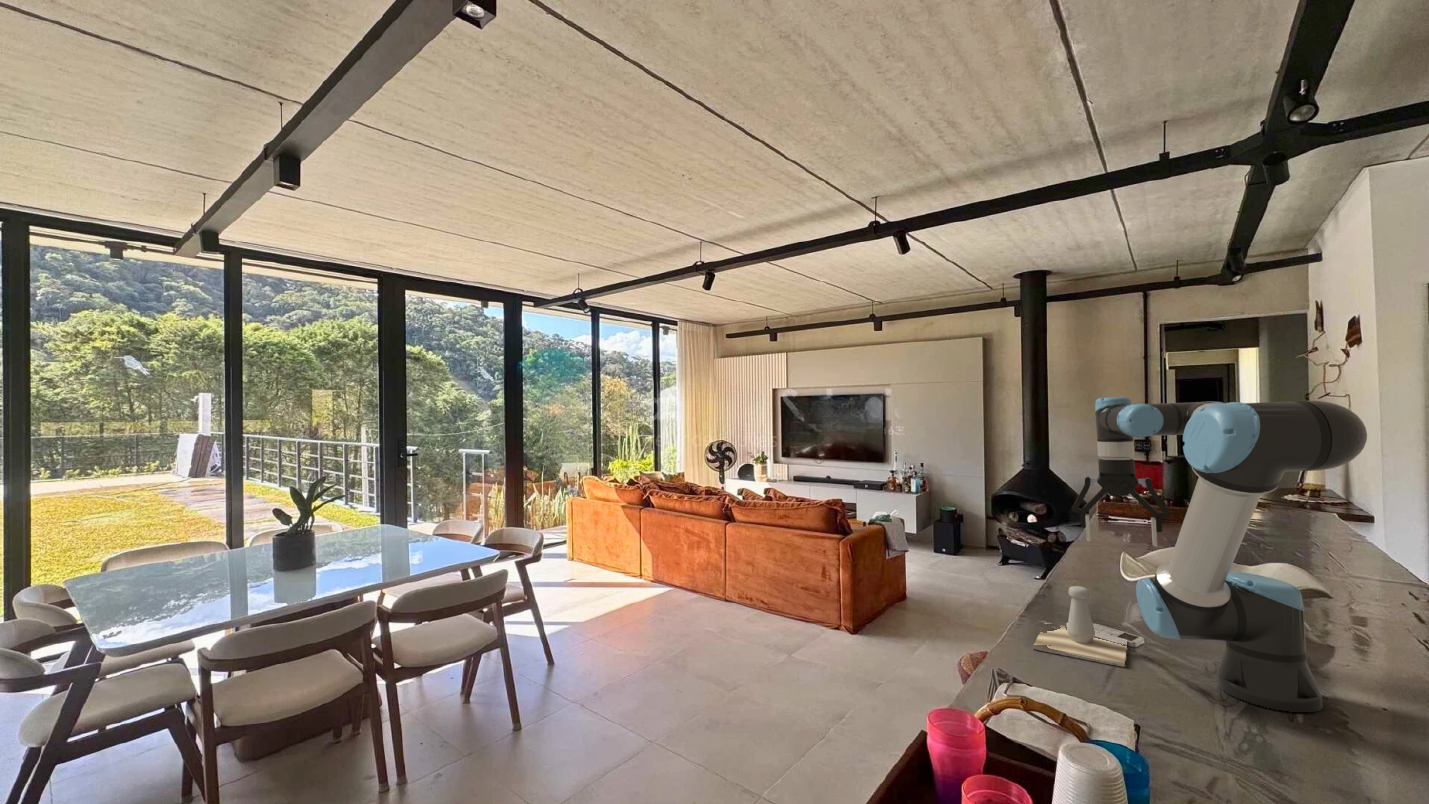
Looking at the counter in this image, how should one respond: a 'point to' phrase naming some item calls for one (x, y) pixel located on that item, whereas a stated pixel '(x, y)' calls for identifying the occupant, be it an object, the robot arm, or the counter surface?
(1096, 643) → the open book
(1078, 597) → the salt shaker
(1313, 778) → the counter surface
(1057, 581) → the counter surface
